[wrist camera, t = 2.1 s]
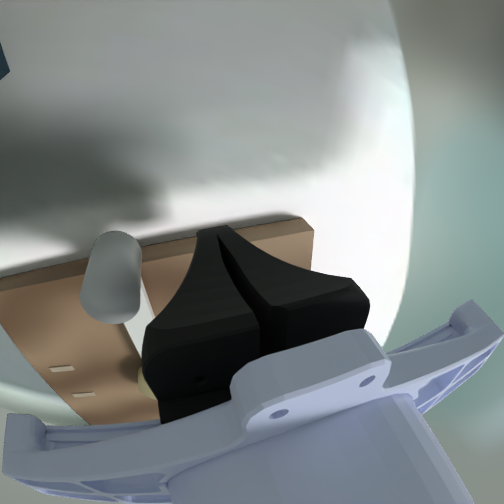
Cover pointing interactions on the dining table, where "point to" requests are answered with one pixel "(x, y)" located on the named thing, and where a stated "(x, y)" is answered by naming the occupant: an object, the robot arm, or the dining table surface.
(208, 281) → the robot arm
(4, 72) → the watch
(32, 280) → the brown wooden board
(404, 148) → the dining table surface
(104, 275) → the lever
